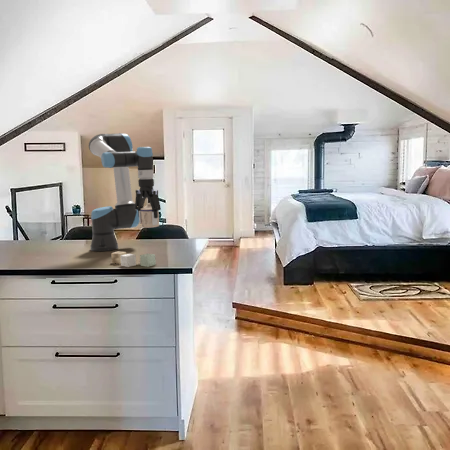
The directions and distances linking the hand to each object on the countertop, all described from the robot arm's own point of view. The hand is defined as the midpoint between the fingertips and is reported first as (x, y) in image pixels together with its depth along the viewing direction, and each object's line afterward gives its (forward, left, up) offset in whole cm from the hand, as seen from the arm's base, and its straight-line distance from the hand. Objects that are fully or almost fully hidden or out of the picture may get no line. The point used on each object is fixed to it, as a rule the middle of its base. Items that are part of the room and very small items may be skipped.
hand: (148, 224), depth 257 cm
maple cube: (-6, -15, -17) cm, 24 cm away
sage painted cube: (+11, -12, -17) cm, 24 cm away
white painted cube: (+3, -17, -17) cm, 24 cm away
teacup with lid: (0, 0, -2) cm, 2 cm away
